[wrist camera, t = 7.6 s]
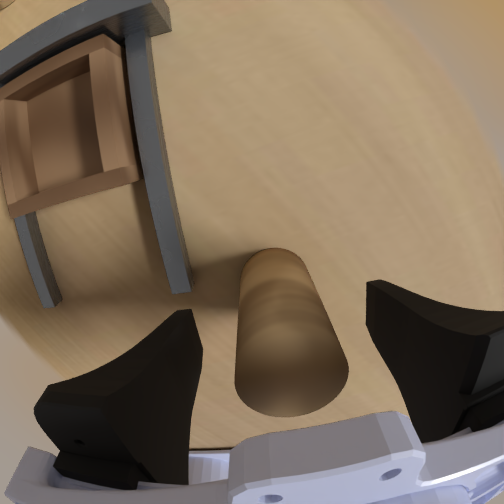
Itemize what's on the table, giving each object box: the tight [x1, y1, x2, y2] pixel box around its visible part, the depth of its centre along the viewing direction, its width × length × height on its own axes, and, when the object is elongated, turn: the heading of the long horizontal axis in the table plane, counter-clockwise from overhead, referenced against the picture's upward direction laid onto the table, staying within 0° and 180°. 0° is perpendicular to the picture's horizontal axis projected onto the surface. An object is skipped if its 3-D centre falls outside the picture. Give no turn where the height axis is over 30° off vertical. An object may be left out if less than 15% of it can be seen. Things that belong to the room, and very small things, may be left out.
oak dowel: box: [235, 248, 349, 417], centre depth 12 cm, size 4×4×8 cm
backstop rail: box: [0, 0, 195, 308], centre depth 12 cm, size 14×12×4 cm
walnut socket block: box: [0, 34, 143, 219], centre depth 12 cm, size 7×7×3 cm
